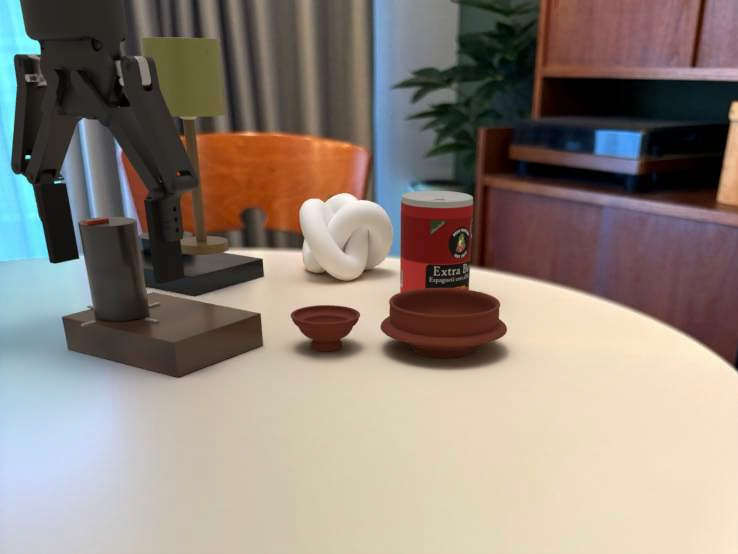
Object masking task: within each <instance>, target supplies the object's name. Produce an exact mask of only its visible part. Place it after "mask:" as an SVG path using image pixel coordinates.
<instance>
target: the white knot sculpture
mask: <svg viewBox="0 0 738 554" xmlns="http://www.w3.org/2000/svg"><path fill="white" fill-rule="evenodd" d="M299 224H300V225H299V226H300V229H301V232H302V235H303V238H304V240H303V244H302V248H301V249H302V250H301V256H302V263H303V265H304V267H305V268H306V269H307V270H308V272H311V273H314V274H321V273H324V272H327V273H328V274H329V275H330V276H331V277H333V278H335V279H338V280H340V281H343V282H349V281H353V280H355V279H357V278H358V277H360V276H361V275H362V274H363V272H364V271H367V270H372V269H374V268H376V267H378V266H379V265H381V264H382V263H383V262H384V261H385V260H386V258H387V257H388V256H389V253H390V251H391V249H392V246H393V240H394V228H393V224H392V221H391V218H390V217H389V215H388V213H387V212H386V211H385V209H384V208H383V207H382V206H381V205H379V204H377V203H376V202H373V201H371V200H366V199H365V200H364V199H360V200H359V199H358V198H357V197H355V196H354V195H352V194H350V193H348V192H347V193H345V192H344V193H338V194H336V195H333V196H331V197H329V198H328V199H327V200H326V201H325V202H324V201H323V200H321V199H320V198H309V199H307V200H305V201H304V202H303V203H302V205H301V206H300V207H299Z"/></svg>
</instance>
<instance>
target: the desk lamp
mask: <svg viewBox="0 0 738 554" xmlns="http://www.w3.org/2000/svg"><path fill="white" fill-rule="evenodd" d="M139 42H140V50H141V56H150V57H152V58H153V60H154V61H155V65H156V70H157V75H158V81H159V86H160V90H161V93H162V95H163V97H164V100H165V102H166V104H167V107H168V109H169V112H170V114H171V116H172V118H173V117H178V118H180V119H182V122H183V133H184V138H185V139H184V140H185V142H184V143H185V150H186V152H187V154H188V157H189V159H190V161H191V164H192V166H193V169H194V171H195V173H196V176H197V178H198V181H199V186H198V188H197V189H196V190H191V191H190V197H191V205H192V215H193V223H194V231H195V232H194V233H195V236H193V237H185V238H183V239H181V240H180V242H181V250H182V254H189V255H210V254H218V253H222V252H223V253H227V251H228V252H229V249H230V247H229V239H228V238H226V237H223V236H216V235H207V228H206V227H207V226H206V219H205V208H204V199H203V189H202V181H201V170H200V160H199V151H198V141H197V131H196V121H195V120H196V119H197V118H198V117H219V116H226V115H227V109H226V98H225V87H224V75H223V64H222V63H223V62H222V53H221V40H220V38H211V37H209V38H208V37H171V36H169V37H165V36H163V37H161V36H154V37H153V36H145V37H144V36H143V37H139Z"/></svg>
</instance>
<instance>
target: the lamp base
mask: <svg viewBox="0 0 738 554" xmlns="http://www.w3.org/2000/svg"><path fill="white" fill-rule="evenodd" d="M138 235H139V242H140V249H141V256H142V263H143V270H144V277H145V284H146V288H149V289H153V290H160V291H164V292H170V293H174V294H178V295H179V294H180V295H184V296H188V297H189V296H190V297H198V296H202V295H205V294H209V293H212V292H215V291H220V290H222V289H223V290H224V289H226V288H229V287H233V286H236V285H241V284H244V283H247V282H251V281H253V280H257V279H262V278H264V277H265V269H264V259H263V258H261V257H254V256H248V255H243V254H235V253H228V252H222V253H218V254H210V255H189V254H182V258H183V267H184V275H185V278H182V279H178V280H174V281H171V282H167V283H163V284H159V283H155V279H154V271H153V264H152V257H151V249H150V242H149V235H148V232H143V233H141V234H138ZM194 235H195V234H193V233H192V232H190V231H184V235H183V238H185V237H193V236H194Z"/></svg>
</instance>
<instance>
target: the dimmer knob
mask: <svg viewBox="0 0 738 554" xmlns="http://www.w3.org/2000/svg"><path fill="white" fill-rule="evenodd" d="M77 224H78V230H79V236H80V243H81V246H82V247H81V248H82V251H83V252H82V253H83V259H84V264H85V265H84V266H85V270H86V276H87V281H88V286H89V293H90V299H91V304H92V306H93V310H94V315H95V317H96V318H97V319H100V320H104V321H129V320H135V319H139V318H143V317H145V316H147V315H148V314H149V313H150V312H149V305H148V298H147V294H148V292H147V291H148V290H147V287H146V284H145V277H144V270H143V263H142V256H141V249H140V242H139V235H140V234H139V228H138V221H137V219H135V218H133V217H125V216H99V217H91V218H85V219H81V220H79V221H78V223H77Z"/></svg>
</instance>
